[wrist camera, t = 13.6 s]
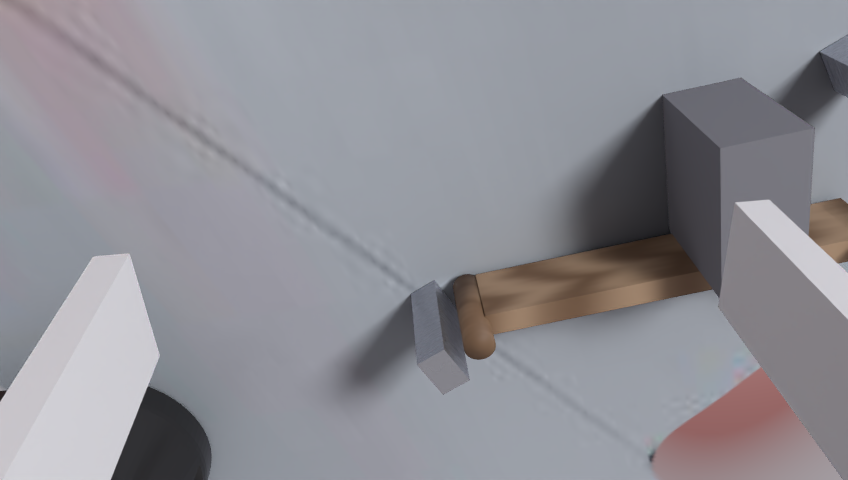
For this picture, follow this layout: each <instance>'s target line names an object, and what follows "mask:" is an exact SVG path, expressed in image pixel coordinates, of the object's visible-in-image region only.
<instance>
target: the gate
mask: <svg viewBox="0 0 848 480" xmlns="http://www.w3.org/2000/svg"><path fill="white" fill-rule="evenodd" d="M809 237H810V238H811V239H812V240H813V241H814V242H815V243H816V244H817V245H818V246H819V247H820V248H822V249H823V250H824V251H825V252H826V253H827V254H828V255H829V256H830V257H831V258H832V259H833V260H834V261H835V262H836V263H842V262H847V261H848V204H847V203H846V202H845V201H844V200H842V199H841V198H839V199H834V200H829V201H824V202H820V203H815V204H810V221H809ZM711 289H712V287H711V286H710V285H709V283H708V282H707V281H706V279H705V278H704V277H703V275H702V274H701V272H700V271H699V270H698V268H697V267H696V266H695V264H694V263H693V262H692V260H691V259H690V258H689V256H688V255H687V254H686V252H685V251H684V249H683V248H682V247H681V245H680V244H679V243H678V241H677V240H676V239H675V237H674V236H673V235H672V234H667V235H663V236H658V237H653V238H648V239H644V240H639V241H634V242H629V243H624V244H620V245H615V246H610V247H605V248H601V249H596V250H591V251H586V252H582V253H577V254H572V255H567V256H563V257H558V258H553V259H548V260H544V261H539V262H534V263H529V264H525V265H520V266H515V267H510V268H505V269H501V270H496V271H491V272H486V273H482V274H477V275H476V276H474V275H471V274H465V275H462V276H460V277H458V278H457V279H456V280H455V282H454V284H453V291H454V296H455V302H456V308H457V313H458V319H459V324H460V330H461V335H462V341H463V347H464V351H465V353H466V355H467V356H469V357H470V358H472V359H477V360H480V359H485V358H487V357H489V356H490V355H492V353H493V352H494V351H495V347H496V344H495V339H494V335H493V334H498V333H503V332H508V331H513V330H517V329H522V328H527V327H532V326H537V325H542V324H547V323H551V322H556V321H561V320H566V319H571V318H576V317H580V316H585V315H590V314H595V313H600V312H605V311H610V310H614V309H619V308H624V307H629V306H634V305H639V304H644V303H648V302H653V301H658V300H663V299H668V298H673V297H677V296H682V295H687V294H692V293H697V292H702V291H707V290H711Z"/></svg>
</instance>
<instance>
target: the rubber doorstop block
mask: <svg viewBox="0 0 848 480" xmlns="http://www.w3.org/2000/svg"><path fill="white" fill-rule="evenodd" d="M662 98H663V119H664V139H665V159H666V180H667V200H668V220H669V230H670V232H671V233H672V235H673V236H674V237H675V239H676V240H677V241H678V243H679V244H680V245H681V247H682V248H683V249H684V251H685V252H686V254H687V255H688V256H689V258H690V259H691V260H692V262H693V263H694V264H695V266H696V267H697V268H698V270H699V271H700V272H701V274H702V275H703V277H704V278H705V279H706V281H707V282H708V283H709V285H710V286H711V287H712V289H713V290H714V291H715V293H716V294H717V295H718V297H719V298H720V291H721V285H722V279H723V273H724V267H725V260H726V254H727V248H728V242H729V235H730V229H731V223H732V217H733V210H734V204H735V202H746V201H758V200H770V201H771V202H772V203H774V204H775V205H776V206H777V207H778V208H779V209H780V210H781V211H782V212H783V213H784V214H785V215H786V216H787V217H788V218H790V219H791V220H792V221H793V222H794V223H795V224H796V225H797V226H798V227H799V228H800V229H801V230H802V231H803V232H804V233H806V234H807V235H808V236H809V221H810V204H811V187H812V169H813V152H814V135H815V128H814V127H813V126H811V125H810V124H808V123H807V122H805V121H804V120H802V119H801V118H799V117H798V116H796V115H795V114H794V113H792V112H791V111H789V110H788V109H786V108H785V107H783V106H782V105H780V104H779V103H777V102H776V101H774V100H773V99H772V98H770V97H769V96H767V95H766V94H764V93H763V92H761V91H760V90H758V89H757V88H755V87H754V86H752V85H751V84H750V83H748V82H747V81H745V80H744V79H742V78H737V79H732V80H728V81H723V82H719V83H714V84H710V85H705V86H700V87H696V88H691V89H687V90H682V91H677V92H673V93H668V94H664V95H662Z"/></svg>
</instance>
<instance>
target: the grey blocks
mask: <svg viewBox="0 0 848 480" xmlns="http://www.w3.org/2000/svg"><path fill="white" fill-rule="evenodd" d="M820 54H821V57H822V59H823V62H824V65H825V67H826V70H827V72H828V75H829V77H830V80H831V83H832V85H833V88H834V90H835V91H837V92H839V93H840V94H842V95H844V96H846V97H847V98H848V35H847V36H845V37H843V38H842V39H840V40H838V41H837V42H835V43H833V44H831V45H830V46H828V47H826V48H825V49H823V50H821V51H820ZM411 300H412V312H413V323H414V335H415V346H416V358H417V365H418V366H419V368H420V369H421V370H422V371H423V372H424V373H425V374H426V376H427V377H428V378H429V379H430V380H431V381H432V382H433V384H434V385H435V386H436V387H437V388H438V389H439V391H440V392H441V393H442V394H443V395H444V394H445V393H447V392H449V391H451V390H453V389H454V388H456V387H458V386H460V385H462V384H464V383H465V382H467V381H469V380H470V379H469V374H468V368H467V363H466V357H465V352H464V347H463V341H462V335H461V330H460V324H459V319H458V313H457V308H456V307H455V306H454V304H453V303H452V302H451V301H450V299H449V298H448V297H447V296H446V294H445V293H444V292H443V291H442V289H441V288H440V287H439V286H438V284H437V283H436V282H435V280H434V281H432V282H430V283H429V284H427V285H425V286H424V287H422V288H420V289H419V290H417V291H415V292H414V293H412V294H411Z"/></svg>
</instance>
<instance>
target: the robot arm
mask: <svg viewBox="0 0 848 480" xmlns="http://www.w3.org/2000/svg"><path fill="white" fill-rule="evenodd" d="M718 307H719V309H720V310H721V312H722V313H723V314H724V316H725V317H726V319H727V320H728V321H729V323H730V324H731V325H732V327H733V328H734V330H735V331H736V332H737V334H738V335H739V337H740V338H741V339H742V341H743V342H744V343H745V345H746V346H747V348H748V349H749V350H750V352H751V353H752V355H753V356H754V357H755V359H756V360H757V361H758V363H759V364H760V366H761V367H762V368H763V370H764V371H765V373H766V374H767V375H768V377H769V378H770V379H771V381H772V382H773V384H774V385H775V386H776V388H777V389H778V391H779V392H780V393H781V395H782V396H783V397H784V399H785V400H786V402H787V403H788V404H789V406H790V407H791V409H792V410H793V411H794V413H795V414H796V415H797V417H798V418H799V420H800V421H801V422H802V424H803V425H804V426H805V428H806V429H807V431H808V432H809V433H810V435H811V436H812V438H813V439H814V440H815V441H816V443H817V444H818V446H819V447H820V449H821V450H822V451H823V453H824V454H825V456H826V457H827V458H828V460H829V461H830V462H831V464H832V465H833V467H834V468H835V469H836V471H837V472H838V474H839V475H840V476H841V478H842V479H843V480H848V273H847V272H846V271H845V270H844V269H843V268H842V267H841V266H840V265H839V264H838V263H836V262H835V261H834V260H833V259H832V258H831V257H830V256H829V255H828V254H827V253H826V252H825V251H824V250H823V249H822V248H820V247H819V246H818V245H817V244H816V243H815V242H814V241H813V240H812V239H811V238H810V237H809V236H808V235H807V234H806V233H804V232H803V231H802V230H801V229H800V228H799V227H798V226H797V225H796V224H795V223H794V222H793V221H792V220H791V219H790V218H788V217H787V216H786V215H785V214H784V213H783V212H782V211H781V210H780V209H779V208H778V207H777V206H776V205H775V204H774V203H772V202H771V201H770V200H758V201H746V202H735V204H734V210H733V217H732V223H731V229H730V235H729V242H728V248H727V254H726V260H725V267H724V273H723V279H722V285H721V291H720V298H719V304H718ZM159 356H160V355H159V352H158V348H157V345H156V341H155V338H154V335H153V331H152V328H151V325H150V321H149V318H148V314H147V311H146V308H145V304H144V301H143V297H142V294H141V291H140V287H139V284H138V281H137V277H136V274H135V270H134V267H133V264H132V260H131V257H130V254H129V253H128V254H116V255H104V256H93V258H92V259H91V261H90V262H89V264H88V266H87V267H86V269H85V270H84V272H83V273H82V275H81V276H80V278H79V280H78V281H77V283H76V284H75V286H74V287H73V289H72V290H71V292H70V294H69V295H68V297H67V298H66V300H65V301H64V303H63V305H62V306H61V308H60V309H59V311H58V312H57V314H56V315H55V317H54V319H53V320H52V322H51V323H50V325H49V326H48V328H47V329H46V331H45V333H44V334H43V336H42V337H41V339H40V340H39V342H38V344H37V345H36V347H35V348H34V350H33V351H32V353H31V354H30V356H29V358H28V359H27V361H26V362H25V364H24V365H23V367H22V368H21V370H20V372H19V373H18V375H17V376H16V378H15V379H14V381H13V383H12V384H11V386H10V387H9V389H8V390H7V391H0V480H208V476H209V472H210V468H211V448H210V444H209V441H208V438H207V436H206V434H205V432H204V430H203V428H202V427H201V425H200V424H199V422H198V421H197V420H196V418H195V417H194V416H193V415H192V414H191V413H190V412H189V411H188V410H187V409H186V408H184V407H183V406H182V405H181V404H179V403H178V402H177V401H175V400H174V399H172V398H170V397H169V396H167V395H165V394H163V393H161V392H159V391H157V390H155V389H153V388H150V387H148V384H149V382H150V379H151V377H152V374H153V372H154V369H155V367H156V364H157V361H158V359H159Z"/></svg>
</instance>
